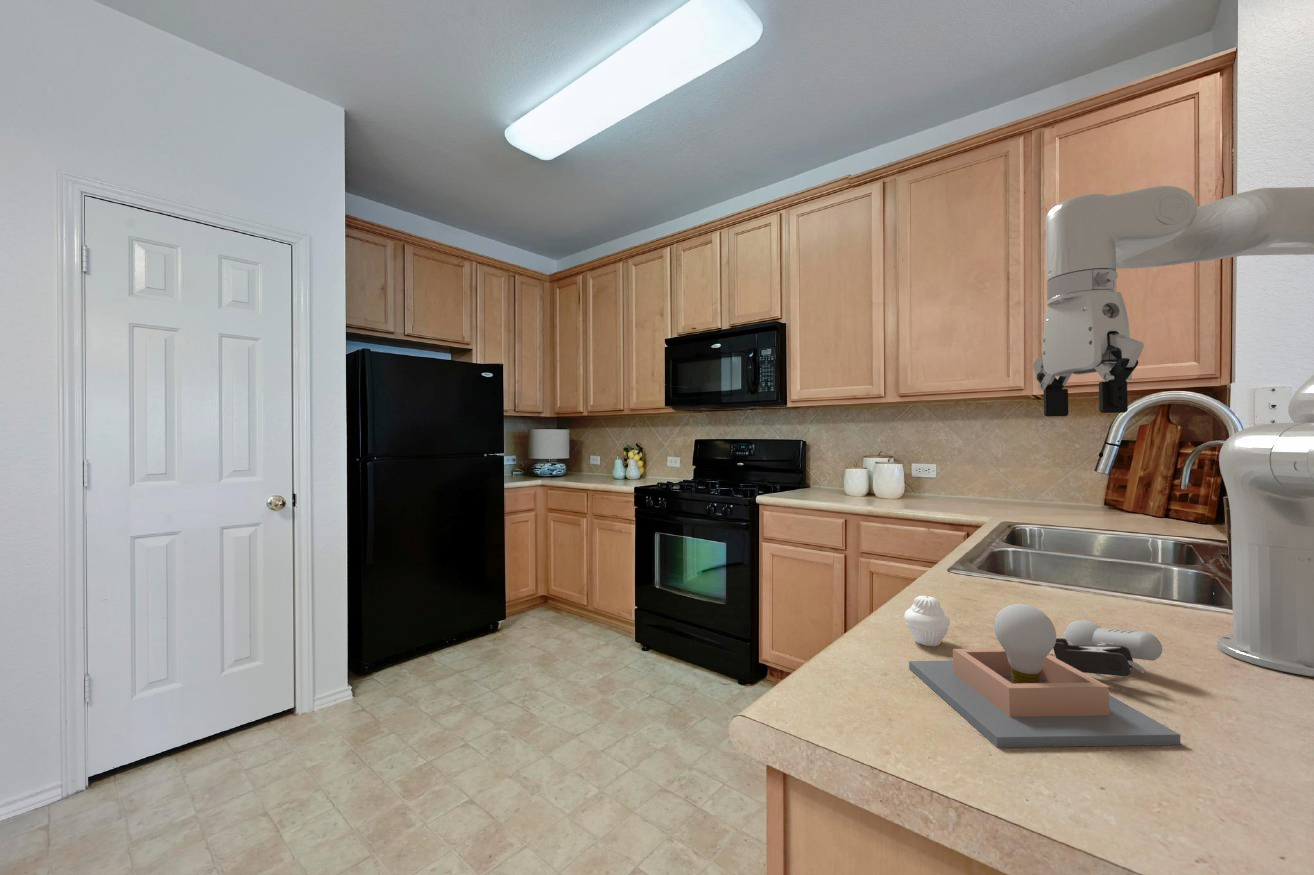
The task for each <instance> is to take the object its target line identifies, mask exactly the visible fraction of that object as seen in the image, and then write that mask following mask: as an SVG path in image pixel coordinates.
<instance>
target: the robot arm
mask: <svg viewBox="0 0 1314 875" xmlns="http://www.w3.org/2000/svg"><path fill="white" fill-rule="evenodd" d="M1045 252H1046V253H1045V254H1046V256H1045V257H1046V260H1045V261H1046V267H1045V268H1046V305H1047V307H1046V311H1045V318H1044V326H1043V333H1042V334H1043V336H1042V355H1041V356H1039V357H1038V359H1036V360H1035V361H1034V362H1033V365H1032V367H1033V370H1034V371H1035V375H1036V380H1037V381H1038V383H1040V384H1039V385H1040V386H1039V388H1040V389H1041V390H1042V391H1043V415H1044V417H1046V418H1047V417H1067V416H1069V388H1065V387H1066V385H1067V383H1068V381H1069V379H1070V378H1071V376H1072V375H1079V376H1080V375H1085V374H1094V373H1098V375H1099V376H1100V377H1101V379H1102V380H1103V381H1099V382H1098V407H1099V409H1098V410H1099V412H1100V413H1101V414H1122V413H1127V412H1128V409H1129V407H1128V382H1129V381H1131V380H1132V378H1133V372H1134V370H1136V368H1137V366H1138V365H1139V358H1140V357H1141V354H1142V352H1143V349H1144V347H1145V346H1144V342H1142V341H1140V340H1136V339H1134V338H1133V337H1132V338H1131V332H1130V323H1129V317H1128V312H1127V308H1126V303H1125V301H1124V298H1123V295H1122V292H1120V291H1117V290H1118V289H1117V287H1118V286H1117V279H1118V277H1119V274H1118V272H1117V269H1121V270H1122V269H1150V268H1158V267H1167V266H1175V265H1181V264H1182V265H1183V264H1191V263H1198V262H1208V261H1216V260H1222V259H1229V258H1235V257H1242V256H1243V257H1246V256H1280V255H1281V256H1287V255H1288V256H1290V255H1291V256H1292V255H1293V256H1294V255H1295V256H1300V255H1301V256H1302V255H1303V256H1304V255H1305V256H1306V255H1307V256H1309V255H1311V256H1312V255H1313V256H1314V186H1304V187H1303V186H1300V187H1298V186H1297V187H1295V186H1294V187H1261V188H1257V189H1252V190H1247V191H1244V192H1240V193H1235V194H1233V195H1229V196H1226V197H1223V198H1220V199H1217V200H1213V201H1212V202H1209V203H1205V204H1203V205H1200V206H1198V203H1197V200H1196V198H1195V197H1194V195H1193V194H1192V193H1190V192H1189V191H1187V190H1186V189H1184V188H1182V187H1178V186H1173V185H1160V186H1151V187H1146V188H1141V189H1136V190H1132V191H1128V192H1123V193H1122V192H1121V193H1116V194H1110V195H1108V194H1107V195H1106V194H1104V193H1091V194H1082V195H1079V196H1075V197H1070V198H1069V199H1065V200H1064V201H1061V202H1058V203H1057V204H1056V205H1054V206H1053V207H1051V209H1050V210H1049V211H1048V212H1047V214H1046V218H1045ZM1057 377H1058V378H1057ZM1287 411H1288V412H1287V413H1288V415H1289V417H1290V420H1291V421H1292V422H1279V423H1267V424H1266V423H1265V424H1260V425H1259V424H1258V425H1254V426H1249V427H1246V428H1243V429H1240V430H1239V431H1237V432H1235V433H1233V434H1232V435H1230V436H1229V437H1228V438H1226V440H1225V442H1223V444H1222V446H1221V448H1220V452H1219V455H1218V462H1219V464H1218V465H1219V469H1220V473H1221V476H1222V480H1223V483H1224V486H1225V489H1226V494H1227V498H1228V504H1229V511H1230V512H1229V513H1230V534H1231V535H1230V536H1231V537H1230V538H1231V539H1230V540H1231V542H1230V543H1231V544H1230V545H1231V547H1230V548H1231V593H1232V634H1231V633H1230V634H1222V635H1221V636H1220V635H1219V637H1217V640H1216V641H1217V647H1218V649H1219V650H1220V651H1222V652H1223V653H1225V654H1227V655H1229V656H1231V657H1233V658H1236V659H1238V660H1241V661H1243V662H1245V663H1246V662H1247V663H1250V664H1253V665H1257V666H1261V667H1263V668H1268V669H1271V670H1276V671H1279V672H1284V673H1290V674H1294V675H1301V676H1307V677H1312V678H1313V677H1314V374H1312V375H1311V376H1310V377H1309V378H1307V380H1306V381H1305V382H1304V383H1303V384H1302V385H1301V386H1300V387H1299V388H1298V389H1297V390H1296V391H1295V392H1294V394H1293V395H1292V397H1291V399H1290V401H1289V404H1288V410H1287Z"/></svg>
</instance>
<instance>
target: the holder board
mask: <svg viewBox="0 0 1314 875" xmlns="http://www.w3.org/2000/svg"><path fill="white" fill-rule="evenodd" d="M908 669H909V670H910V671H911V672H912V673H913V674H914V675H915V676H917V678H919V679H920V680H921V681H922V682H924V684H926V685H927V686H928V687H929V688H930V689H931V690H932V691H933V692H934V693H936V694H937V695H938V696H939V697H940V698H941V699H943V701H944V702H946V703H947V704H948V705H949V706H950V707H951V708H953V709H954V711H956V712H957V713H958V714H959V715H961V717H962V718H963V719H965V720H966V721H967V722H968V723H969V724H970V725H972V727H974V728H975V729H976V730H977V731H978V732H979V733H980V734H981V735H983V737H985V738H986V739H987V740H988V741H989V742H990V743H991V744H993V745H994V746H995V747H996V748H1046V747H1047V748H1049V747H1050V748H1051V747H1053V748H1056V747H1059V748H1062V747H1112V746H1113V747H1116V746H1117V747H1118V746H1119V747H1121V746H1175V745H1176V746H1180V745H1181V734H1180V733H1178V732H1177V731H1175V730H1173V729H1171V728H1170V727H1168V726H1166V725H1164V724H1162V723H1160V722H1159V721H1157V720H1156V719H1153V718H1152V717H1150V716H1148V715H1146V714H1144V713H1142V712H1140V711H1139V710H1138V709H1135V708H1134V707H1132V706H1130V705H1129V704H1126V703H1125V702H1123V701H1121V700H1119V699H1117V698H1116V697H1114V696H1113V695H1110V686H1109V685H1107V684H1105V683H1103V682H1101V681H1099V680H1098V679H1095V678H1094V677H1092V676H1090V675H1088V674H1087V673H1084V672H1081V671H1079V670H1077V669H1075V668H1073V667H1072V666H1070V665H1068V664H1066V663H1064V662H1062V661H1061V660H1059V659H1057V658H1056V656H1053V655H1052V654H1050V653H1049V654H1048V655H1047V656H1046V658H1045V660H1044V663H1043V667H1042V669H1041V671H1040V679H1039V681H1040V683H1020V684H1012V677H1011V675H1012V674H1011V666H1010V664H1009V661H1008V658H1007V654H1006V652H1005V650H1004V649H1003V647H1000V648H996V647H995V648H992V647H990V648H953V649H952V660H909V661H908Z"/></svg>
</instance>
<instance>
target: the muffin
mask: <svg viewBox="0 0 1314 875" xmlns="http://www.w3.org/2000/svg"><path fill="white" fill-rule="evenodd" d="M903 616H904V620H905V622H906V624H905V625H906V626H907V628H908V630H909V632H910V633H911V636H912V637H913V639H914V640H915V643H917V644H919V645H922V646H927V647H936V646H937V647H938V646H940V644H941V642H942V641H943V639H944V638H945V636H946V635H947V633H948V631H949V628H950V625H951V619H950V616H948V614H946V613H945V611H944V609H943V608H942V607H941V603H940V601H939V600H938V599H936V598H935V597H933V596H928V595H927V594H926V595H919V596H917V597H915V598H914V599H913V603H912V605H911V606H910V607H909V608H908V609H907V610H905V612H904V615H903Z"/></svg>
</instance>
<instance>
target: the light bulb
mask: <svg viewBox="0 0 1314 875" xmlns="http://www.w3.org/2000/svg"><path fill="white" fill-rule="evenodd" d="M993 631H994V634H995V637H996V640H997V641H998V642H999V644H1000V645H1001V648H1003V649H1004V650H1005V652H1006V654H1007V658H1008V661H1009V664H1010V666H1011V674H1012V675H1011V677H1012V684H1020V683H1040V681H1039V679H1040V671H1041V669H1042V667H1043V663H1044V660H1045V658H1046V656H1047V655H1048V654H1049V655H1050V653H1051V652H1052V651H1053V650H1054V649H1053V647H1054V646H1055V643H1056V638H1057V630H1056V627H1055V625H1054V623H1053V622H1052V619H1050V617H1049V616H1048V615H1047V614H1046V613H1045V612H1044V611H1042V610H1040V609H1039V608H1037V607H1035V606H1032V605H1030V604H1026V603H1024V604H1023V603H1015V604H1009V605H1007V606H1005V607H1003V608H1002V609H1000V611H998V613H997V615H996V616H995V619H994V622H993Z"/></svg>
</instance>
